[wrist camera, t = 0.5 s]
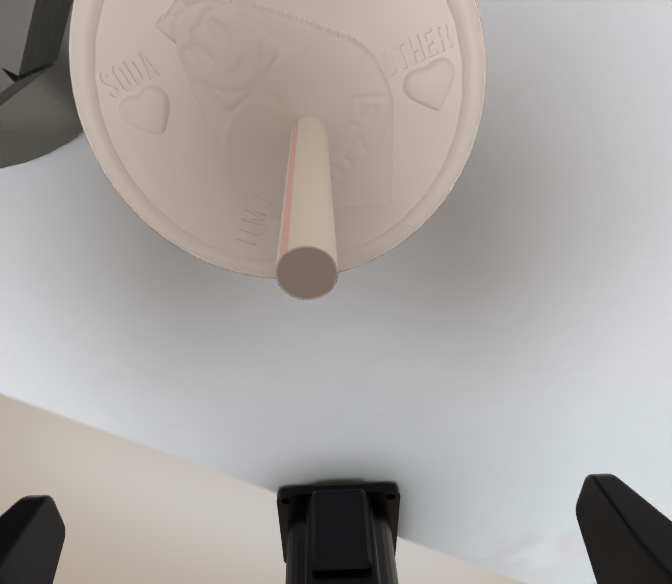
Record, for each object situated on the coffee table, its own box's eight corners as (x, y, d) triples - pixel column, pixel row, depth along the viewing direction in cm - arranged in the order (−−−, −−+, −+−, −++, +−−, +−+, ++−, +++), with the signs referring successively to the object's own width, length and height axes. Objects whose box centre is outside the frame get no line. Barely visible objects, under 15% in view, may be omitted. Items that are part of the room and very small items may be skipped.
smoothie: (305, 170, 19) (294, 547, 7) (148, 33, 16) (-295, 257, 4) (444, 23, 16) (790, 211, 4) (285, -166, 14) (122, -865, 2)
